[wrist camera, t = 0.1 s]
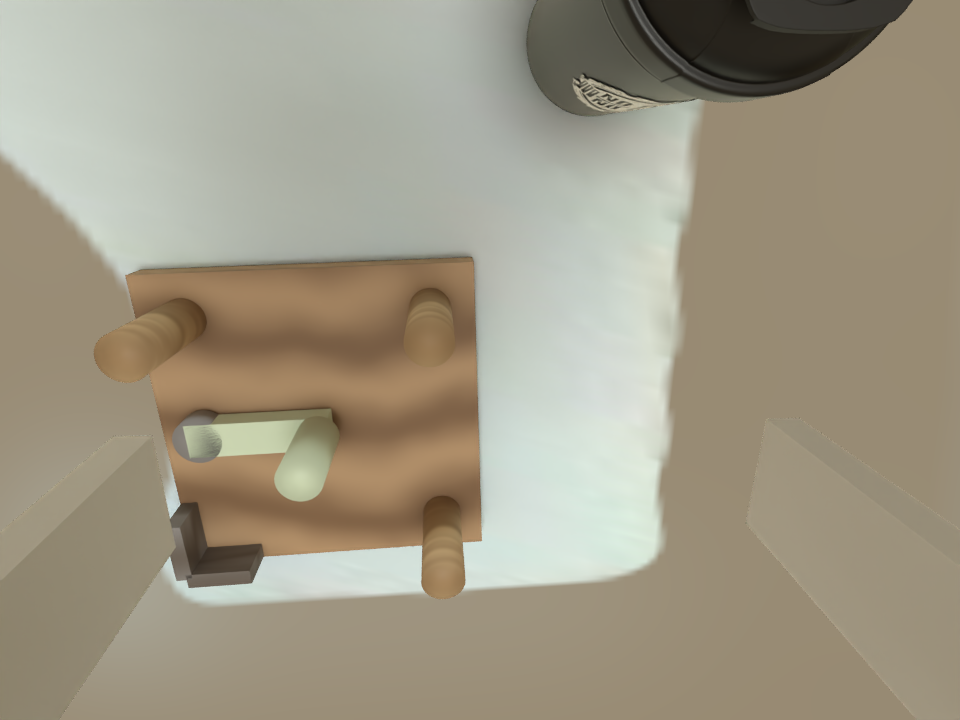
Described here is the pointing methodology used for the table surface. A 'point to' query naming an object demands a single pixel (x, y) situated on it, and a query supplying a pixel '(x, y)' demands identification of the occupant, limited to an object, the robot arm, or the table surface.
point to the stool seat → (316, 406)
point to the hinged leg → (266, 443)
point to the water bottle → (693, 48)
